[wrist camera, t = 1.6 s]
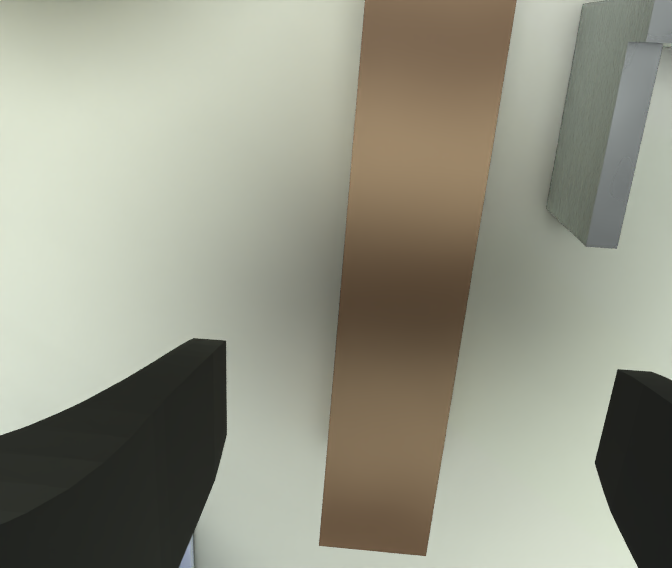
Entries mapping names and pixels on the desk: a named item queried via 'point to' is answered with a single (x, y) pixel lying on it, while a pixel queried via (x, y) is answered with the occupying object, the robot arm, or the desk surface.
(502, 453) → the desk surface
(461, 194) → the walnut rail
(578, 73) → the bracket
